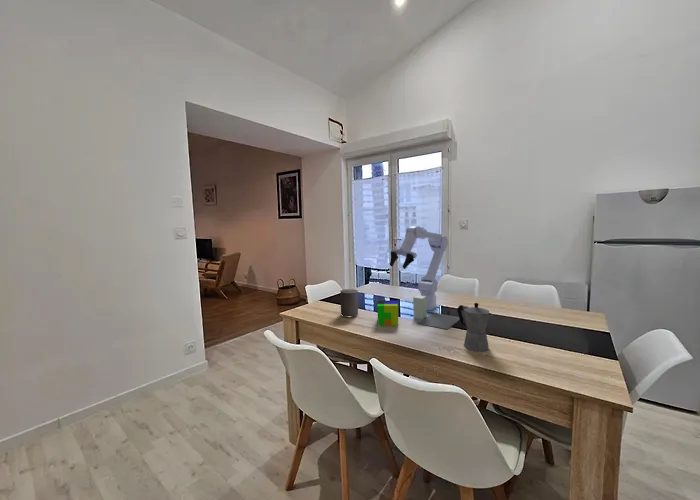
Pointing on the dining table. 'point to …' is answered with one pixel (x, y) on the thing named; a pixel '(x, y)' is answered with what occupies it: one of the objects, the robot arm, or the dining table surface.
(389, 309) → the puzzle toy
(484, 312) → the coffeepot
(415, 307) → the tall block
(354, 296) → the pillar candle
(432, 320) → the mat
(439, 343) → the dining table surface
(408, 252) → the robot arm
